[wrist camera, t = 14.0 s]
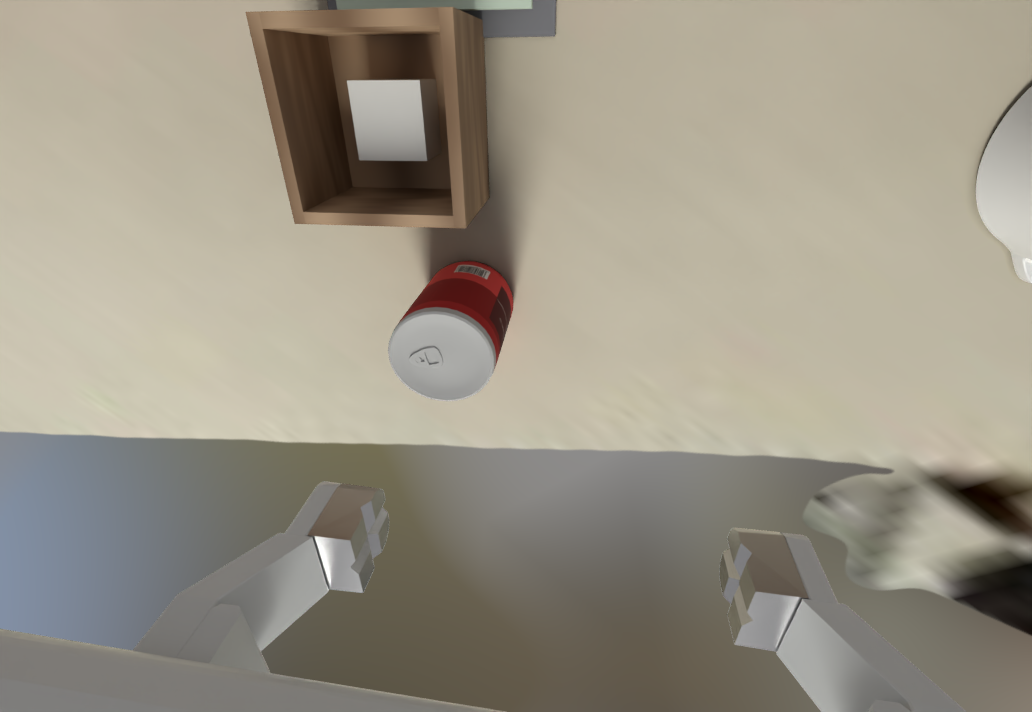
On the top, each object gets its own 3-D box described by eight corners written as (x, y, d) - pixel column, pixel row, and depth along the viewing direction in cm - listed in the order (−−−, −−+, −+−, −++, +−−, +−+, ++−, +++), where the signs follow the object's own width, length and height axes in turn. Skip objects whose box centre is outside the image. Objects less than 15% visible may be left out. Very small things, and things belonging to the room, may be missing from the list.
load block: (435, 78, 36) (419, 80, 32) (441, 152, 38) (427, 160, 35) (369, 79, 36) (346, 80, 33) (379, 152, 39) (359, 160, 36)
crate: (483, 20, 34) (452, 6, 27) (489, 197, 40) (465, 228, 33) (319, 23, 36) (245, 11, 28) (349, 194, 42) (294, 223, 34)
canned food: (412, 282, 45) (366, 338, 36) (486, 241, 42) (456, 291, 33) (458, 348, 48) (426, 416, 39) (530, 314, 45) (514, 379, 36)
